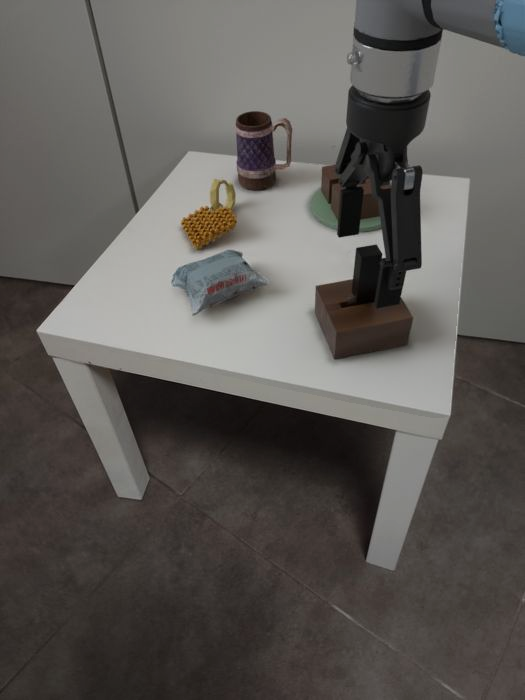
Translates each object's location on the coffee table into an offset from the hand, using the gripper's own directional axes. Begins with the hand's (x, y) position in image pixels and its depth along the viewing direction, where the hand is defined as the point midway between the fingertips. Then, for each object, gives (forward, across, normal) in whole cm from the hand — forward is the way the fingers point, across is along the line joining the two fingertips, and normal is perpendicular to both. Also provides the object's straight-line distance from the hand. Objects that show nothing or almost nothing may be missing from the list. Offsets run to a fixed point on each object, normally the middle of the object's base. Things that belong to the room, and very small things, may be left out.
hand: (365, 267), depth 66 cm
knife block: (+10, 0, 0) cm, 10 cm away
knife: (+10, 0, 0) cm, 10 cm away
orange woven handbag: (+11, -29, -15) cm, 34 cm away
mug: (+11, -40, -4) cm, 41 cm away
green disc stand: (+11, -28, +9) cm, 31 cm away
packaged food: (+11, -12, -17) cm, 23 cm away
